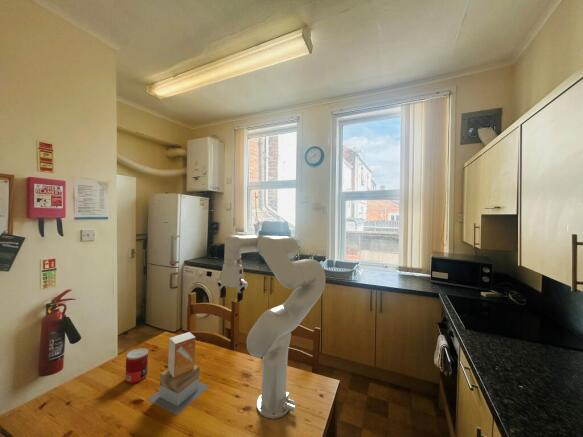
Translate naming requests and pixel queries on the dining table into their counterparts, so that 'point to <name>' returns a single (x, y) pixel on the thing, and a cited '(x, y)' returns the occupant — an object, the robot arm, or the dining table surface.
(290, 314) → the robot arm
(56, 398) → the dining table surface
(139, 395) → the dining table surface
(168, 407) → the mat
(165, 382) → the tower top
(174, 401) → the tower base
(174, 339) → the small box
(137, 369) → the canned food
